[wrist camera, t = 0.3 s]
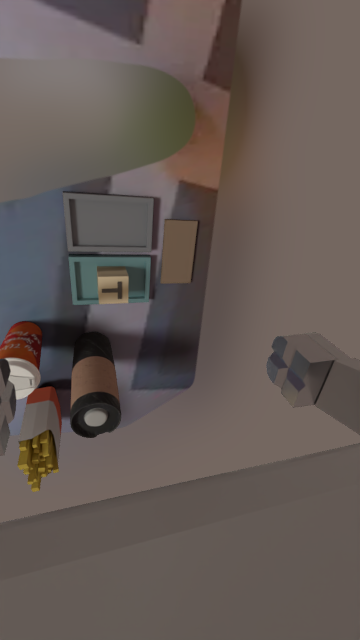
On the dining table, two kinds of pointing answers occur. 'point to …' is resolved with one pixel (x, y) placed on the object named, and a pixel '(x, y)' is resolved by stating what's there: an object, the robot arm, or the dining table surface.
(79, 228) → the gray bin
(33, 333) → the paper cup
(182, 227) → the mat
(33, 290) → the dining table surface
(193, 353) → the dining table surface
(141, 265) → the teal bin
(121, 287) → the letter cube
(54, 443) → the french fries container
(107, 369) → the travel mug
